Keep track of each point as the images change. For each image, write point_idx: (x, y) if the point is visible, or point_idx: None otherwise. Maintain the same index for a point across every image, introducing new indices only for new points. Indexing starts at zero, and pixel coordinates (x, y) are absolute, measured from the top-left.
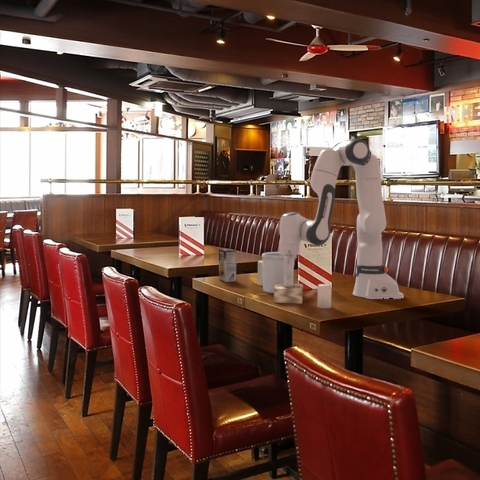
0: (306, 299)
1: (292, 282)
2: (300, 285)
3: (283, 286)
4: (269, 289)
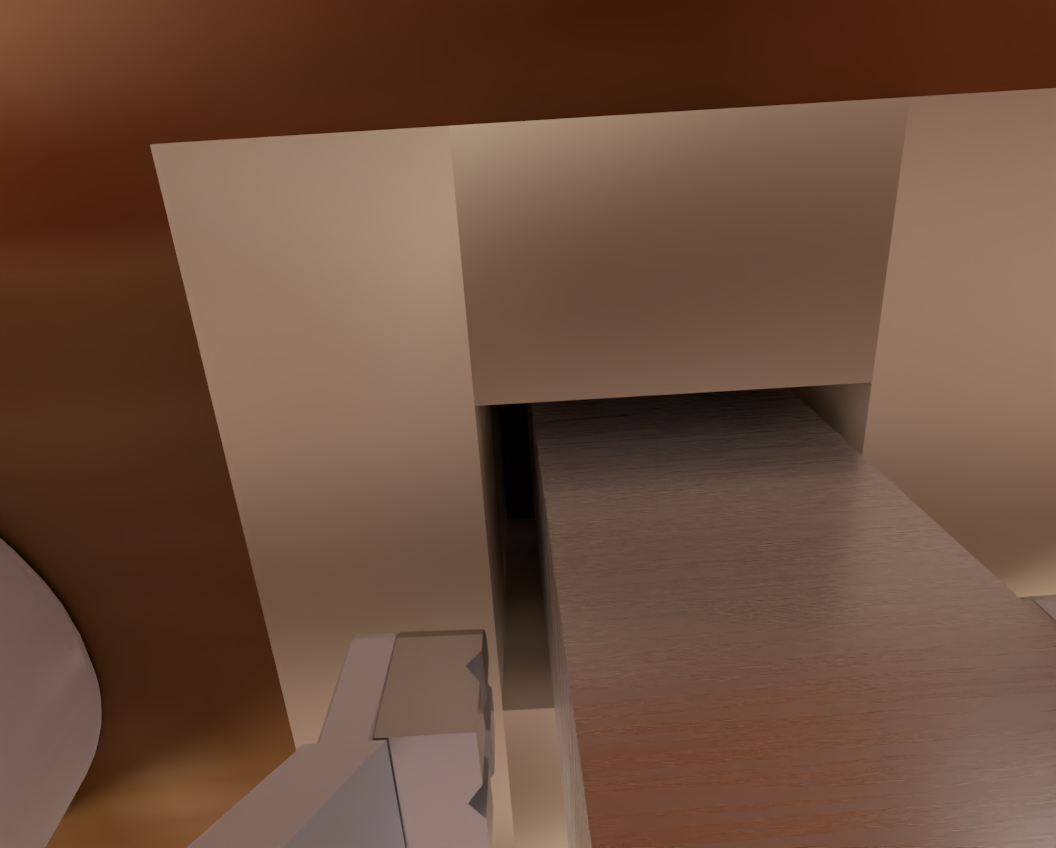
0: (484, 16)
1: (918, 534)
2: (440, 212)
3: (504, 670)
4: (66, 803)
